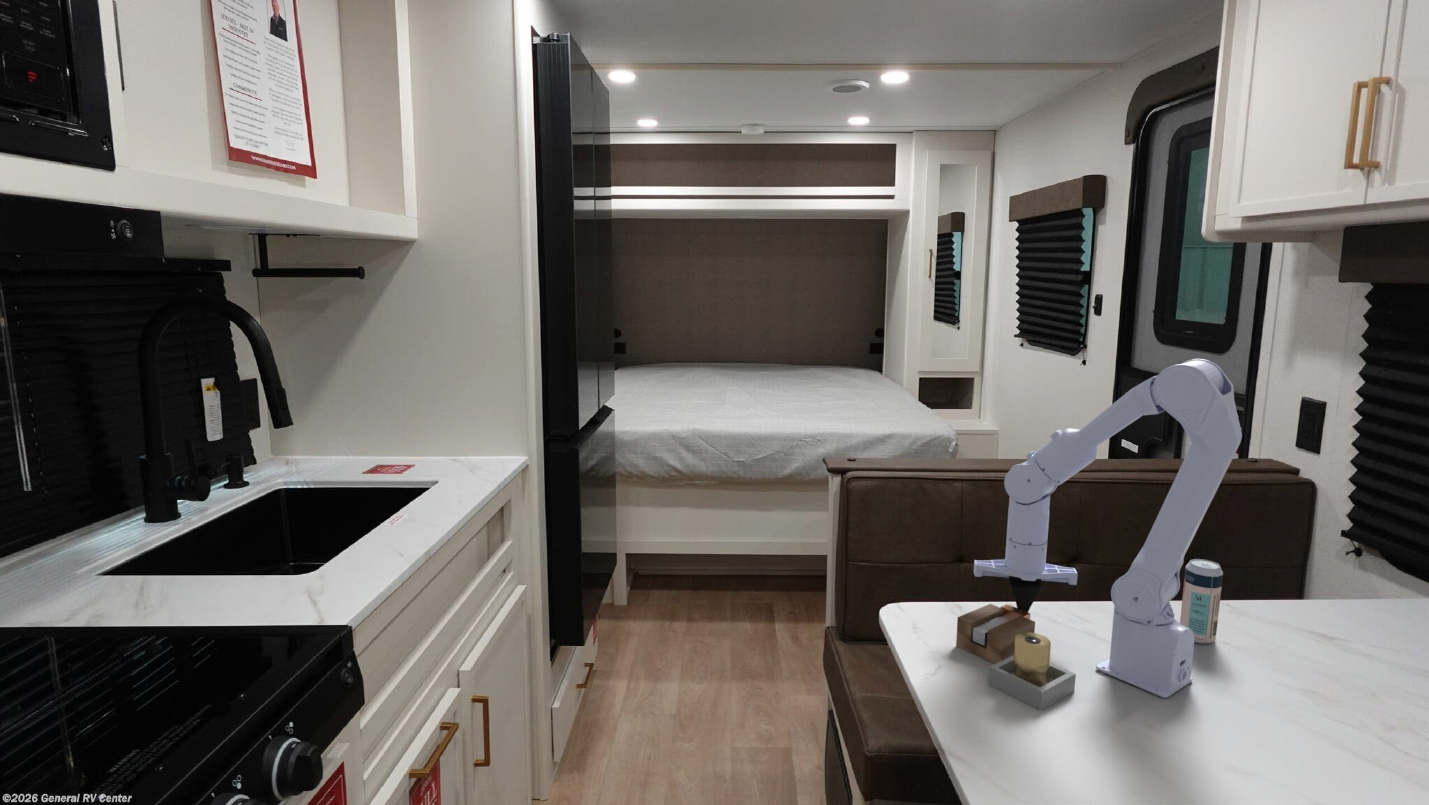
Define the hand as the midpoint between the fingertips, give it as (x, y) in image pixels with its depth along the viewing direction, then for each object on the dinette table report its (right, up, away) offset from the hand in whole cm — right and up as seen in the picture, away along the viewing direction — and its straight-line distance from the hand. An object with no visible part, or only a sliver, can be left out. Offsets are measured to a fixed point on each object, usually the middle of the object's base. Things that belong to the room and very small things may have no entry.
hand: (1020, 622), depth 117 cm
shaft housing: (-6, -3, -4) cm, 7 cm away
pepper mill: (-5, -4, -15) cm, 16 cm away
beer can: (+27, -2, -1) cm, 27 cm away
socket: (-5, -5, -15) cm, 16 cm away
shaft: (-5, -1, -4) cm, 6 cm away
